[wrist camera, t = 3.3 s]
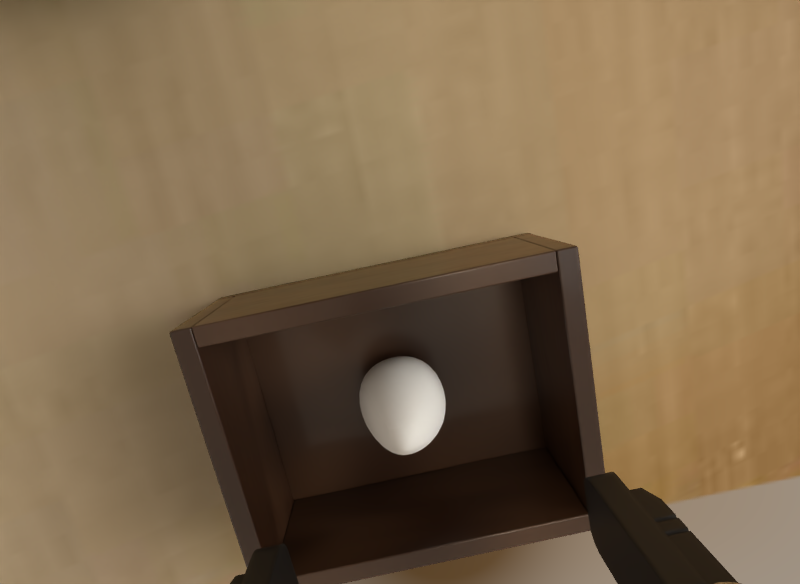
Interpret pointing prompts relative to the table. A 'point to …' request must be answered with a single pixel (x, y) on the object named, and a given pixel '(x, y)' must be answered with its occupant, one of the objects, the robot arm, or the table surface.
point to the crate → (352, 440)
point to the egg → (402, 404)
